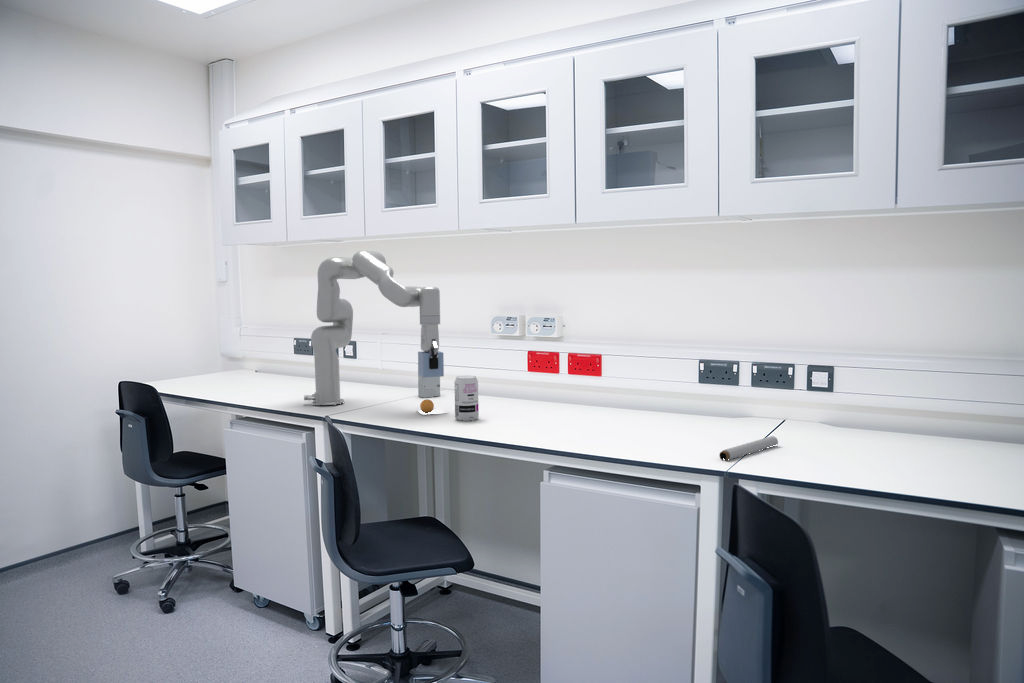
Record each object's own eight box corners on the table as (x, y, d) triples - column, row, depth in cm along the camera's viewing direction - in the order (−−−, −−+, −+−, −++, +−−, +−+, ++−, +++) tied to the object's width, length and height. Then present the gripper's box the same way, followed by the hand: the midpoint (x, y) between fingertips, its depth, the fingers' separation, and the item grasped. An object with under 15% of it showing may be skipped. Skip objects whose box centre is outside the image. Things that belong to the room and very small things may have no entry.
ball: (437, 406, 244) (428, 416, 244) (435, 404, 249) (426, 414, 248) (427, 397, 243) (418, 407, 242) (425, 395, 248) (416, 405, 247)
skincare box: (422, 398, 279) (421, 363, 278) (417, 396, 284) (416, 362, 283) (441, 396, 283) (440, 362, 281) (436, 394, 288) (435, 360, 287)
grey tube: (728, 463, 172) (778, 447, 188) (728, 451, 172) (778, 437, 188) (718, 461, 175) (768, 445, 190) (718, 449, 174) (768, 435, 190)
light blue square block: (423, 377, 241) (422, 353, 240) (418, 375, 248) (418, 351, 247) (443, 376, 244) (443, 352, 243) (438, 373, 251) (438, 350, 250)
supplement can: (465, 416, 239) (464, 374, 238) (483, 418, 234) (482, 376, 233) (450, 419, 232) (449, 377, 231) (468, 422, 227) (468, 379, 226)
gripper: (414, 319, 251) (415, 365, 252) (425, 321, 235) (426, 370, 236) (434, 319, 254) (434, 364, 255) (446, 321, 237) (447, 369, 239)
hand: (431, 367), depth 246 cm, fingers closed on light blue square block, 7 cm apart
